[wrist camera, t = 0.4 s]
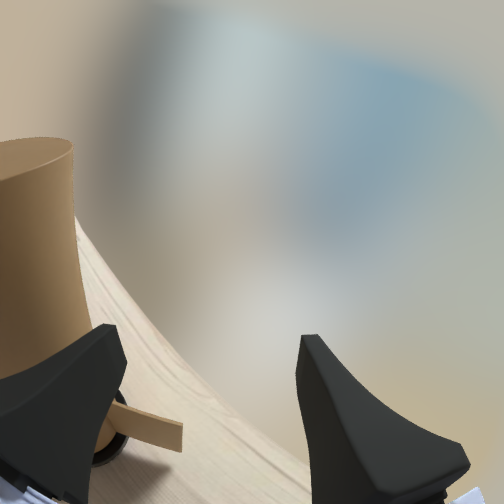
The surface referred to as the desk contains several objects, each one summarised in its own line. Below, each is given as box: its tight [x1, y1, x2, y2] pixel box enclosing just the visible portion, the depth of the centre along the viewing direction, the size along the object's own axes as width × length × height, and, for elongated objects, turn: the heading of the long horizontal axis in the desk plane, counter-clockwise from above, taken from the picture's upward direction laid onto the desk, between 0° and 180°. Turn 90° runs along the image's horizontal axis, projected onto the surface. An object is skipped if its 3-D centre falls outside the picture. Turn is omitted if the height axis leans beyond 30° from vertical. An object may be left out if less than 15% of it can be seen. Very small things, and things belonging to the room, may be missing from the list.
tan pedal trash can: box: [0, 137, 183, 453], centre depth 13 cm, size 10×16×24 cm, turn 87°
